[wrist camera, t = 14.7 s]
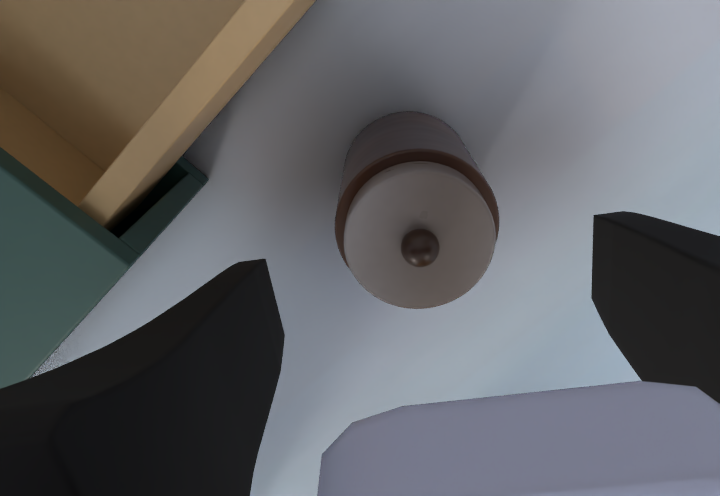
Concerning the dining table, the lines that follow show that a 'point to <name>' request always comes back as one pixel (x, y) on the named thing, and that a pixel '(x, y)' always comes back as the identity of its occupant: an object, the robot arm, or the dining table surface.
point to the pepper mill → (414, 212)
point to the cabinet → (66, 258)
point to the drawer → (124, 86)
